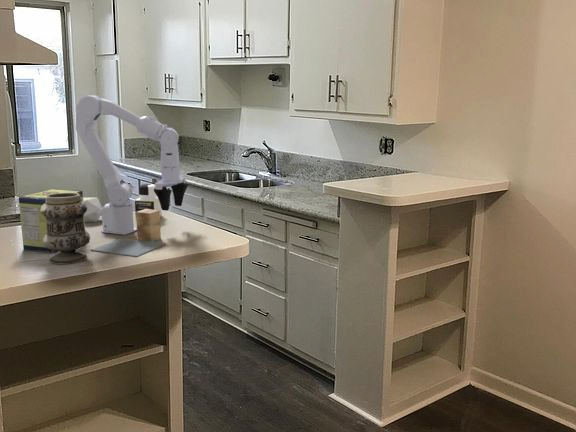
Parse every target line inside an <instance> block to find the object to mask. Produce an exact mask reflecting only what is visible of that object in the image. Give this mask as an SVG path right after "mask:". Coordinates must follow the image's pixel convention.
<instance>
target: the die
mask: <svg viewBox="0 0 576 432" xmlns="http://www.w3.org/2000/svg"><path fill="white" fill-rule="evenodd" d="M83 202H84V203H85V204H86V205H87V211H86V213H84V220H85V223H86V222H87V223H90V222H91V223H92V222H93V223H95V222H97V221H98V220H99V219H100V217H102V209H103V206H102V204H101V202H100V199H99V197H83Z"/></svg>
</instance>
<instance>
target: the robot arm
mask: <svg viewBox="0 0 576 432" xmlns="http://www.w3.org/2000/svg"><path fill="white" fill-rule="evenodd" d="M75 113H76V114H75V115H76V116H75V130H76V132H77V134H78V136H79V138H80V140H81V142H82V144H83V145H84V146H85V148H86V150H87V152H88V154H89V156H90V158H91V160H92V161H93V163H94V165H95V167H96V168H97V170H98V173H99V174H100V176H101V177H102V179H103V183H104V186H105V189H106V191H107V198H108V201H109V203H105V204H104V206H102V208H103V209H102V214H101V223H102V230H101V231H100V232H101V233H107V234H115V235H123V236H126V235H128V234H131V233H133V232H134V233H135V232H137V227H135V225H134V224H135V223H134V209H133V206H134V205H133V201H132V200H131V199H130V198H131V196H132V194H133V189H132V186H131V184H129V183H128V182H127V181H125V180H124V178H123V176H122V175H121V174H120V173H119V172H118V169H117V168H116V167H115V165H114V162H113V160H112V159H111V157H110V155H109V154H108V151H107V149H106V148H105V147H104V146H105V145H104V144H103V142H102V141H101V139H100V137H99V135H98V133H97V132H96V130H95V126H96V124H97V120H98V118H100V116H114V117H115V118H118V119H120V120H122V121H124V122H126V123H128V124H130V125H133V127H134V126H135V127H136V131H137V132H138V133H140V134H141V135H142V136H145V137H147V138H149V139H150V140H153V141H155V142H158V143H159V144H160V168H161V169H160V173H161V180H159V181H158V182H155V183H154V185H155V188H154V192H155V194H156V195H157V196H156V197H158V199H159V202H160V205H161V209H162V211H166V212H167V211H169V210H170V198H171V194H172V195H173V202H174V205H175V206H176V207H181V206H183V199H184V195H185V194H186V190H187V188H188V187H189V186H188V183H186V182H187V181H186V176H180V152H179V145H178V142H179V137H180V136H179V133H178V132H177V131H176V130H175V129H174V128H173V127H169V126H168V124H166V123H164V124H163V123H161V122H160V121H157V120H156V119H154V116H151V115H150V116H148V115H144V116H139V115H137V114H135V113H133V112H131V111H130V110H128V109H126V108H124V107H122V106H121V105H119V104H117V103H116V102H114V101H111V100H109V99H107V98H102V97H100V96H99V95H96V94H91V95H85V96H82V97H81V98H80V99H79V101H78V102H77V105H76V107H75ZM169 187H170V188H171V189H168V188H169Z"/></svg>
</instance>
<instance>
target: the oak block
mask: <svg viewBox="0 0 576 432" xmlns="http://www.w3.org/2000/svg"><path fill="white" fill-rule="evenodd" d="M135 220H136V228H137V231H136V236H137V239H136V240H140V241H148V242H156V241H158V240H161V238H162V237H161V217H160V210H152V209H144V210H141V211H138V212H136V214H135Z"/></svg>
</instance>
